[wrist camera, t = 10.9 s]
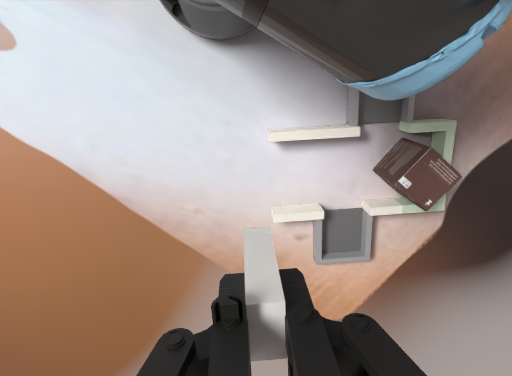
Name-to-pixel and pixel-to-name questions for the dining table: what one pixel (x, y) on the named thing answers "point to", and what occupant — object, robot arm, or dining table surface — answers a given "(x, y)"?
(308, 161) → the dining table surface
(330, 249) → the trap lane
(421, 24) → the robot arm
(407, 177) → the box
